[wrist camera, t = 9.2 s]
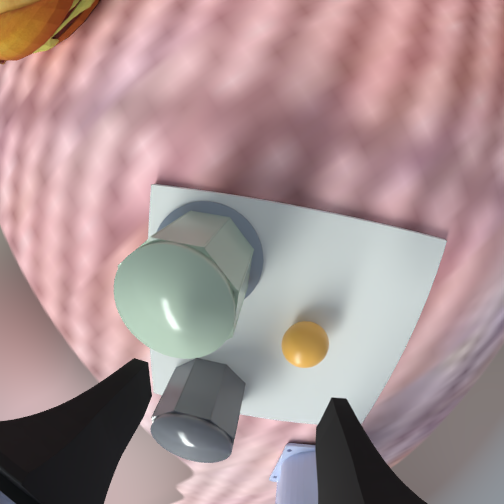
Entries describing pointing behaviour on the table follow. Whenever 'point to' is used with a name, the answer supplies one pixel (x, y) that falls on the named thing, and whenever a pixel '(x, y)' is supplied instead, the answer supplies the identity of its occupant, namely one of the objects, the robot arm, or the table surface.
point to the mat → (315, 304)
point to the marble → (305, 344)
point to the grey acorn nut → (199, 411)
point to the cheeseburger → (38, 24)
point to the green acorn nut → (185, 285)
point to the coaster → (239, 221)
